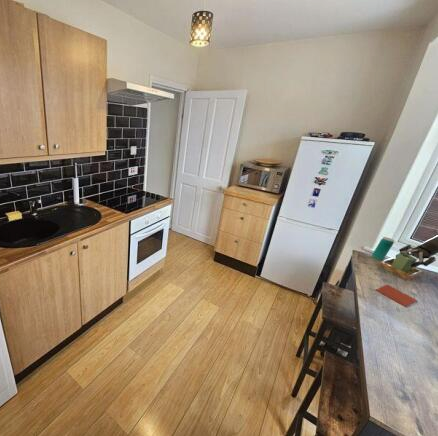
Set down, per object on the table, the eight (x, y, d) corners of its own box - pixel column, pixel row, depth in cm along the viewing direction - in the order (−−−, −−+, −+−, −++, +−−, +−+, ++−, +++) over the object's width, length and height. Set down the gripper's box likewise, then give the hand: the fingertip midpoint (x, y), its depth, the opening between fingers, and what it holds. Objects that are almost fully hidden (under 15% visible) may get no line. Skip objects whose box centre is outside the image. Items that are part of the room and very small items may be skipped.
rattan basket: (418, 275, 136) (422, 271, 134) (407, 280, 130) (411, 275, 129) (389, 262, 147) (392, 257, 146) (377, 266, 142) (380, 261, 140)
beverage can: (384, 262, 146) (397, 242, 140) (373, 260, 148) (385, 240, 142) (379, 257, 151) (391, 238, 145) (369, 255, 153) (380, 236, 146)
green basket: (397, 267, 141) (406, 253, 137) (407, 273, 136) (417, 259, 132) (389, 267, 141) (398, 253, 136) (399, 273, 136) (408, 259, 131)
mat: (416, 300, 115) (417, 300, 115) (405, 306, 110) (406, 306, 110) (387, 285, 125) (387, 284, 125) (375, 290, 120) (375, 289, 120)
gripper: (417, 236, 137) (390, 251, 141) (446, 249, 124) (415, 265, 128) (420, 243, 140) (393, 258, 144) (449, 257, 127) (418, 273, 131)
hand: (403, 261), depth 136 cm, fingers open, 8 cm apart
